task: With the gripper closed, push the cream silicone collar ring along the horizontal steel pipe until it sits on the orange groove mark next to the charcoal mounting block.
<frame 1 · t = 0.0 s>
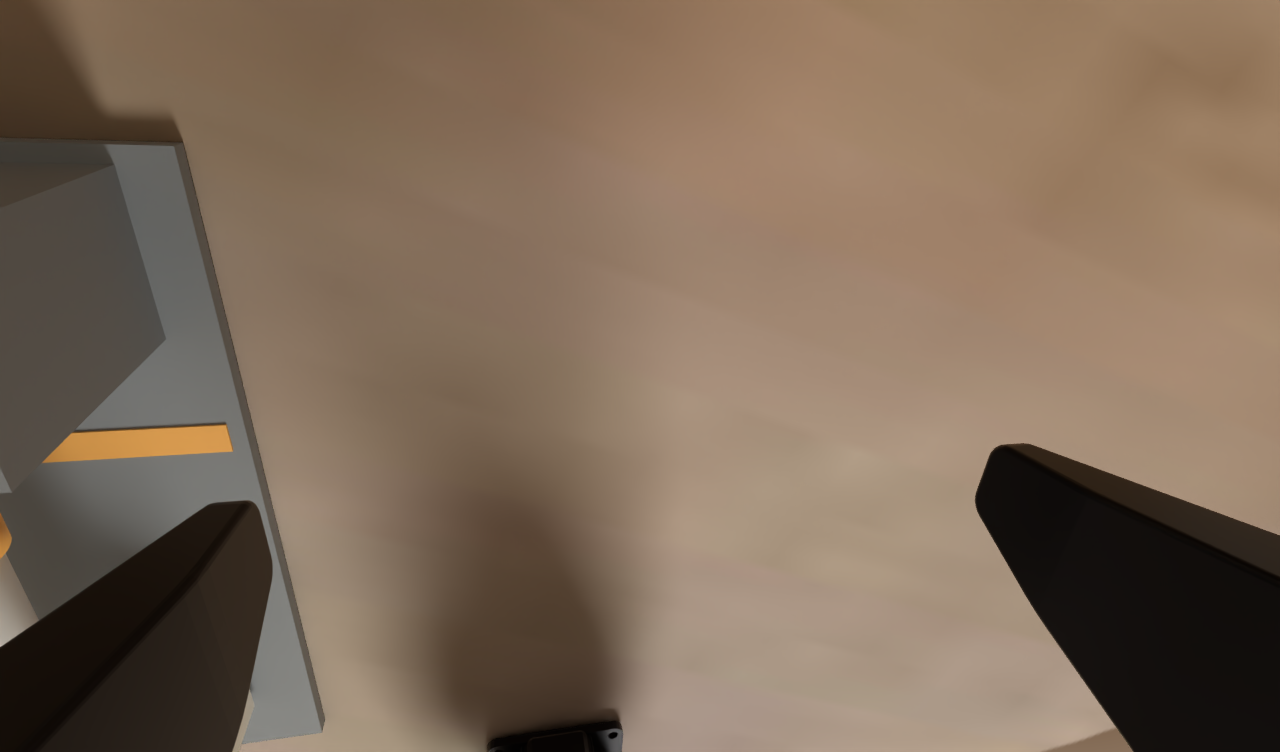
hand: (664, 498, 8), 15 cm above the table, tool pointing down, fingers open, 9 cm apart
pipe mount: (64, 489, 22), on the table
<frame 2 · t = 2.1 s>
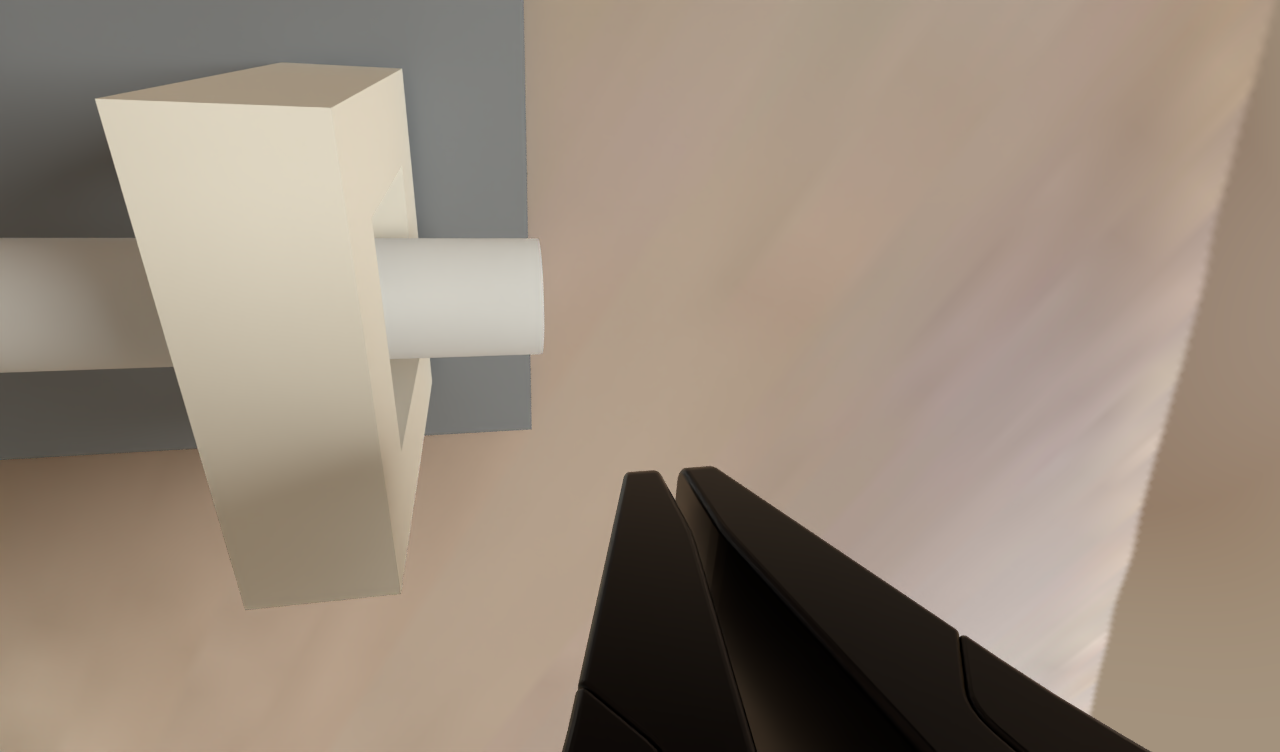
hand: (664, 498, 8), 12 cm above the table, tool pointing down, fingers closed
collar ring: (334, 300, 13), point 5 cm above the table, slide at 0.0 cm
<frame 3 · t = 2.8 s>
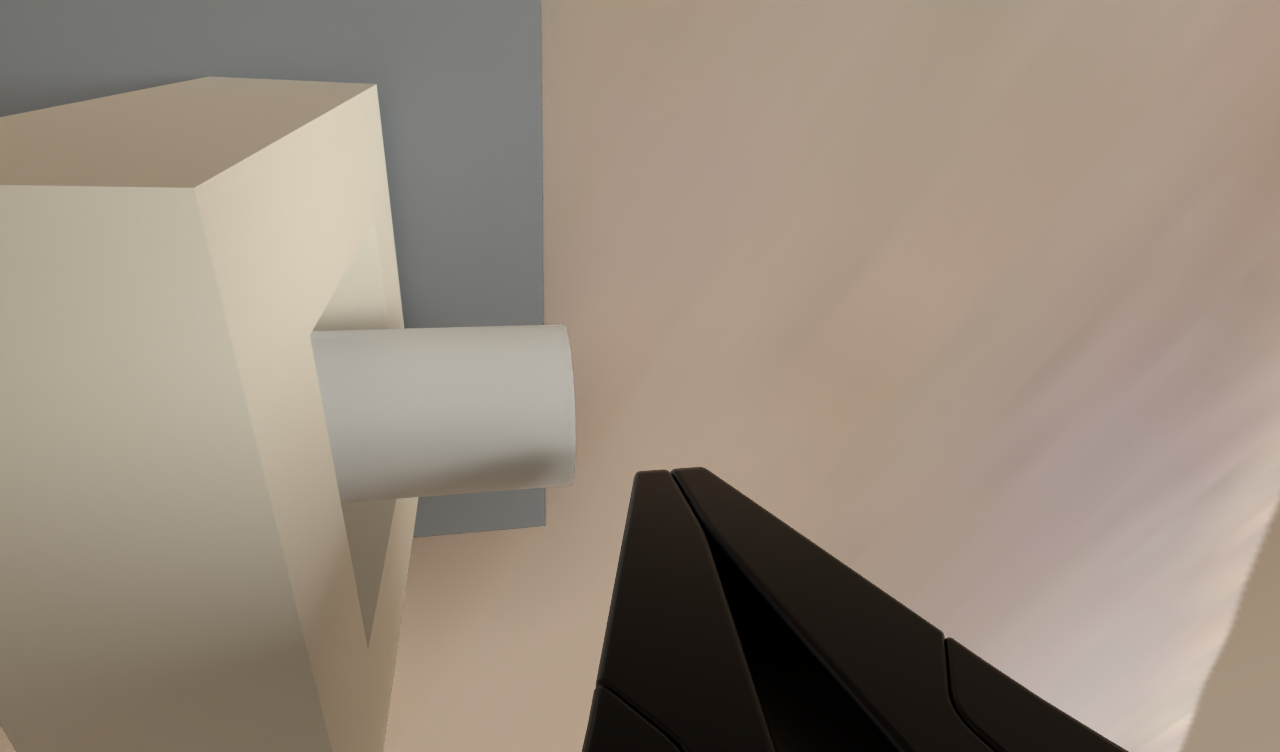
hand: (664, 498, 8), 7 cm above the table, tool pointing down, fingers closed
collar ring: (275, 419, 9), point 5 cm above the table, slide at 0.0 cm
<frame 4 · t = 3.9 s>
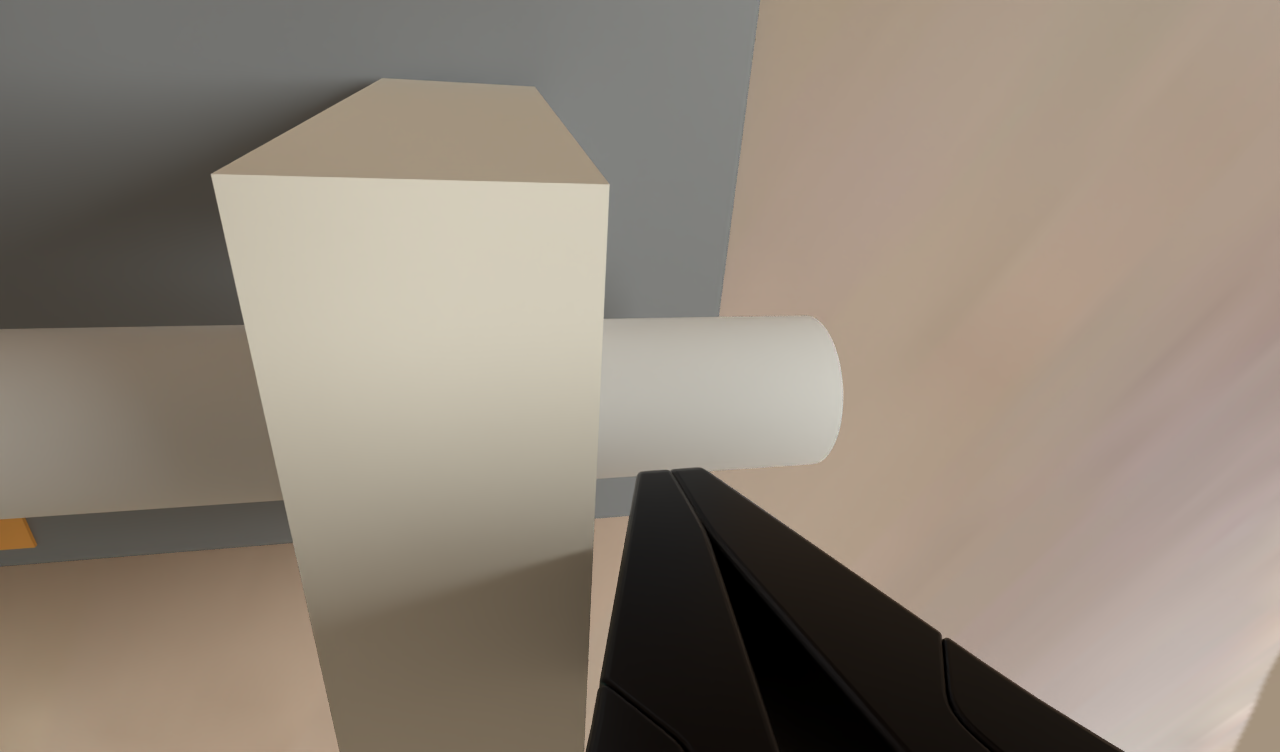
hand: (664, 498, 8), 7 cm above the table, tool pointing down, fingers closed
collar ring: (467, 404, 10), point 5 cm above the table, slide at 1.3 cm, touching gripper
pipe mount: (47, 288, 12), on the table
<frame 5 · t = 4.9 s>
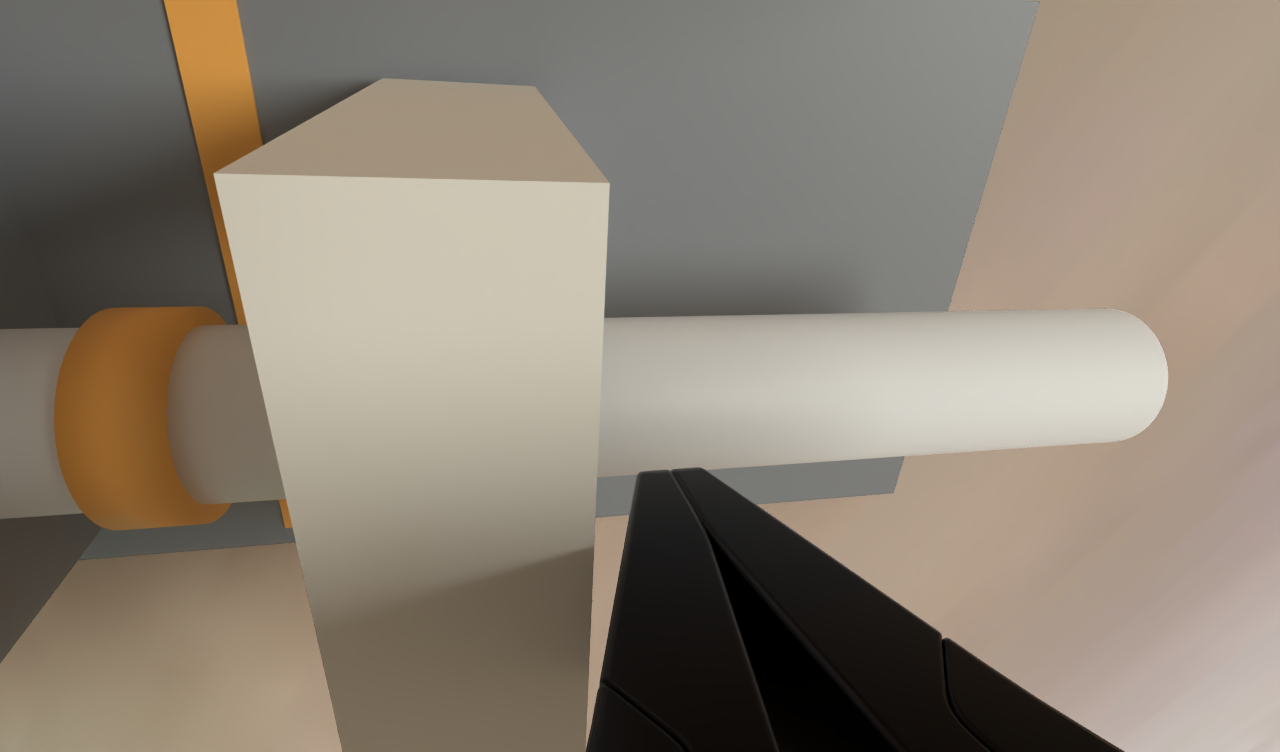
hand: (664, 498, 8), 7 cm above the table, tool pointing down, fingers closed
collar ring: (468, 403, 10), point 5 cm above the table, slide at 7.1 cm, touching gripper
pipe mount: (378, 285, 14), on the table
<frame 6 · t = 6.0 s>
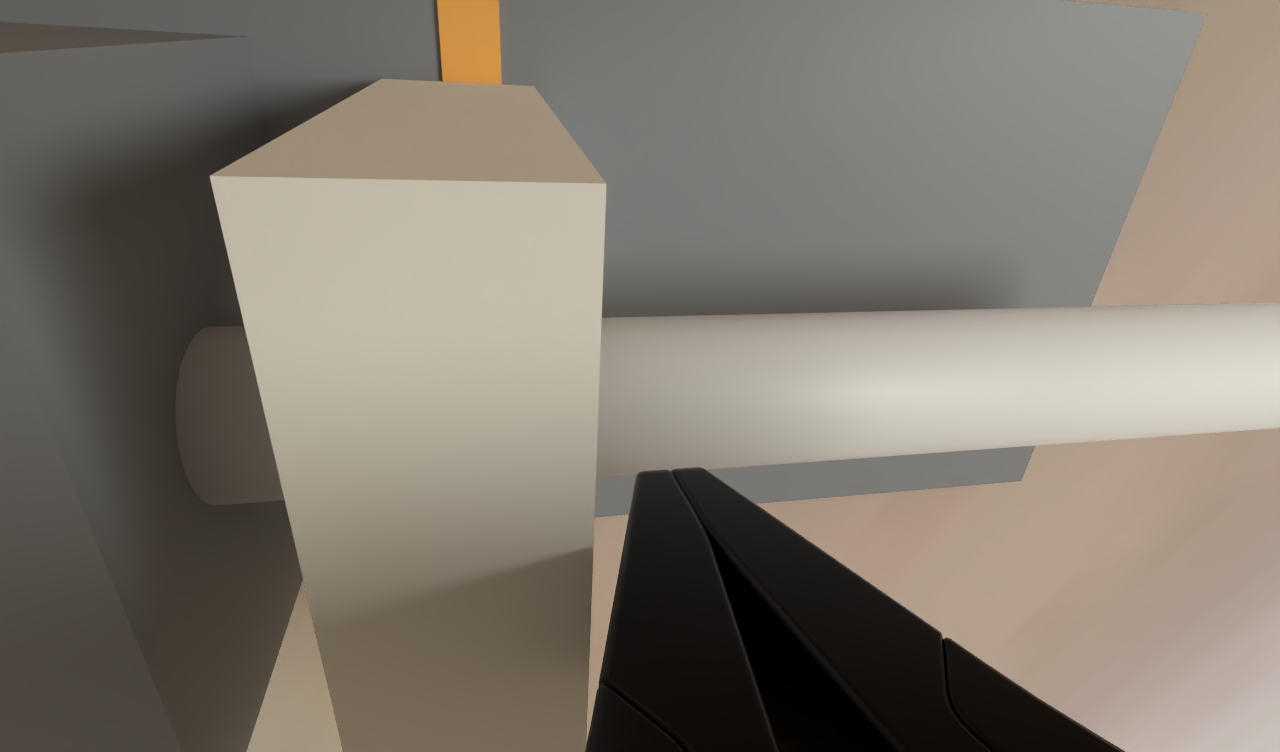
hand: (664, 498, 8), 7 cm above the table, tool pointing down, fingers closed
collar ring: (468, 403, 10), point 5 cm above the table, slide at 11.2 cm, touching gripper
pipe mount: (577, 284, 14), on the table
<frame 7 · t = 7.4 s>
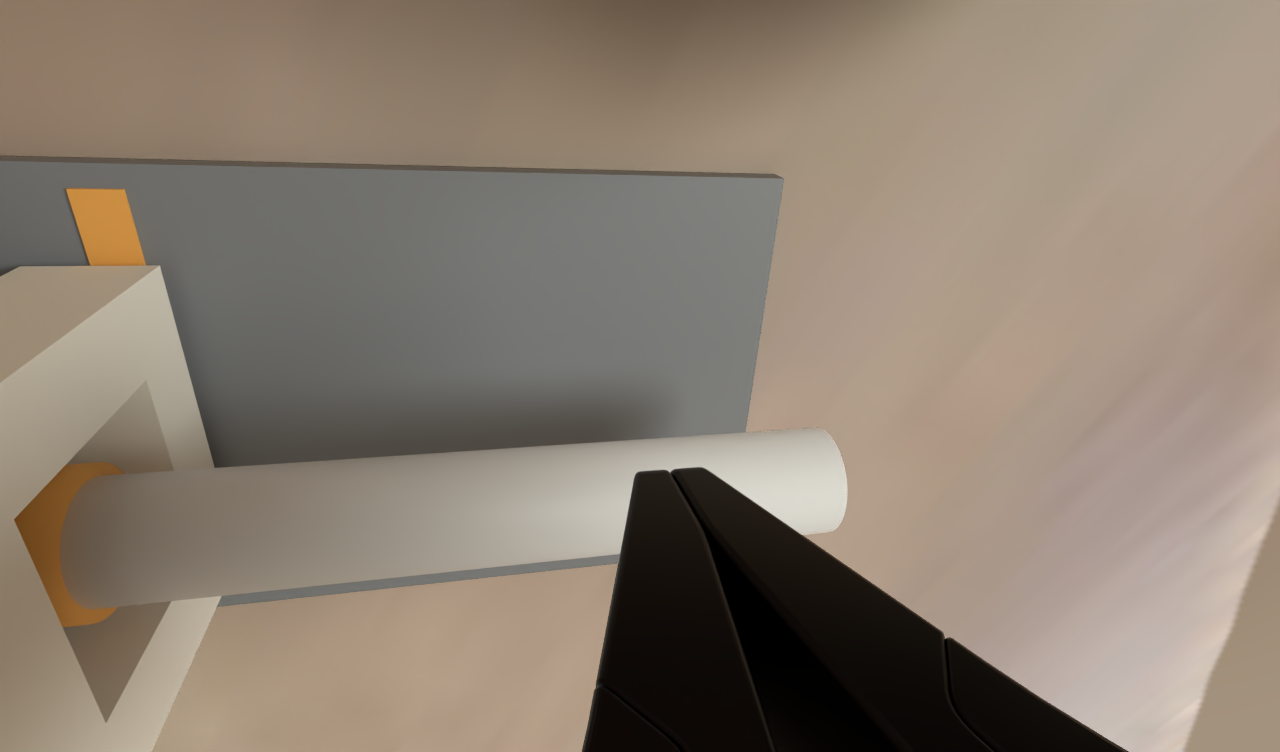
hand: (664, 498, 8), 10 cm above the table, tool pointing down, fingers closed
collar ring: (49, 545, 12), point 5 cm above the table, slide at 11.3 cm
pipe mount: (264, 405, 17), on the table
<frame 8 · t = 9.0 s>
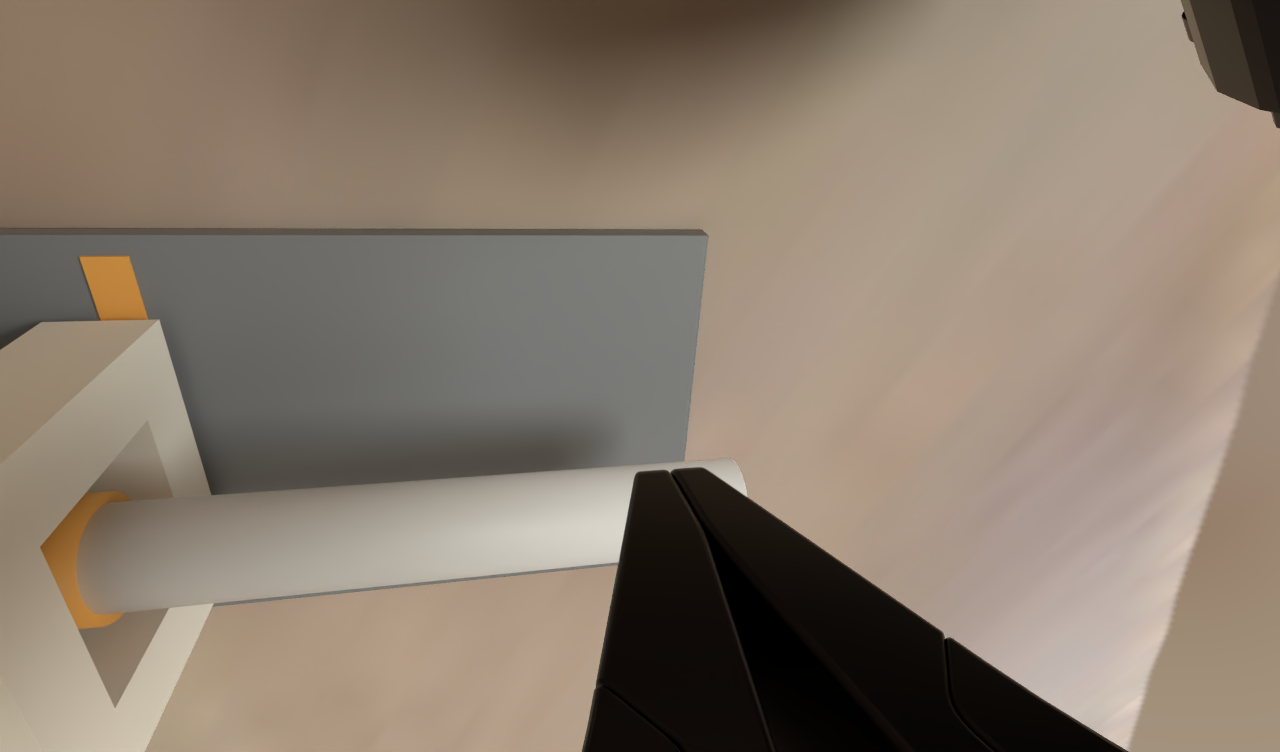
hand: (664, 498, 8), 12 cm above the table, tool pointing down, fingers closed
collar ring: (67, 561, 15), point 5 cm above the table, slide at 11.3 cm
pipe mount: (252, 432, 19), on the table
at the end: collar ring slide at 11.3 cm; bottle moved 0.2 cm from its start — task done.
